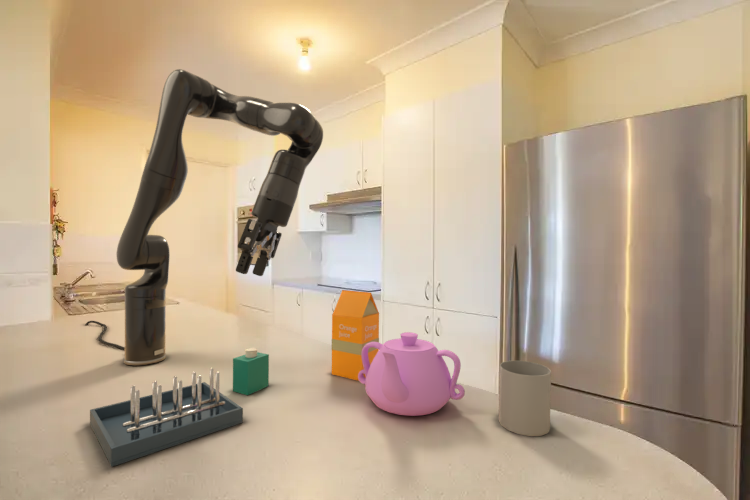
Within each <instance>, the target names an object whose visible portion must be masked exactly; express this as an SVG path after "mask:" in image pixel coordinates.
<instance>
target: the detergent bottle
mask: <svg viewBox="0 0 750 500" xmlns="http://www.w3.org/2000/svg"><path fill="white" fill-rule="evenodd" d="M244 351H245V354H243V355H240V356H236V357H233V358H232V392H233V393H237V394H241V395H245V396H250V395H251V394H253V393H257V392H259V391H261V390H263V389H265V388H267V387H269V386H270V385H269V384H270V383H269V381H270V380H269V379H270V376H269V375H270V373H269V372H270V371H269V370H270V357H269V356H270V354H269V353H263V352H259V351H258V348H256V347H249V348H246V349H245V350H244Z"/></svg>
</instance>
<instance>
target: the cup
mask: <svg viewBox="0 0 750 500" xmlns="http://www.w3.org/2000/svg"><path fill="white" fill-rule="evenodd" d="M498 373H499V376H498V379H499V380H498V422H499V424H500V426H501V427H502V428H504V429H506V430H507V431H508V432H512V433H515V434H517V435H521V436H526V437H527V436H528V437H539V436H540V437H541V436H544V435H547V434H549V432H550V430H551V398H552V397H551V396H552V395H551V393H552V370H551V369H550V368H549V367H548V366H546V365H544V364H542V363H541V364H540V363H537V362H532V361H527V360H506V361H502V362H501V363H500V364H499V371H498Z"/></svg>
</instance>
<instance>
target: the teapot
mask: <svg viewBox="0 0 750 500" xmlns="http://www.w3.org/2000/svg"><path fill="white" fill-rule="evenodd" d="M399 334H400V338H393V339H388V340H386V341H385V342H384V343H381V342H380V341H379V342H370V343H368V344H366V345H365V346H364V347H363V349H362V353H361V356H362V363H363V367H364V370H361V371H360V372H359V374H358V380H359V381H358V380H357V381H358V382H359V383H360V384H362V385H364V386H365V387H364V388H365V393H366V395H367V396H368V398H369V399H370V400H371V401H372V402H373V403H374V405H375V406H376V407H377V408H379V409H380V410H382V411H385V412H387V413H390V414H395V415H400V416H412V417H413V416H414V417H415V416H424V415H430V414H434V413H435V412H438V411H440V410H441V409H442V408H443V407H444V406H446V404H447V403H448V402H449V401H450V399H452V400H455V401H457V400H461V399H463V398H464V397H465V392H466V391H465V388H464V386H463V385H462V384H458V379H459V376H460V372H461V367H462V365H461V360H460V357H459V356H458V355H457V354H456V353H455V352H454V351H451V350H449V349H441V350H439V349H438V348H437V346H436V345H435V344H434V343H432V341H428V340H425V339H420V338H418V337H419V334H418V333H416V332H411V331H407V332H406V331H405V332H402V333H399ZM370 347H374V348H377V349H379V351H378V352H377V354H376V356H375V357H374V359H373V361H372V363H371V365H370V363H369V358H368V349H369V348H370ZM444 357H448V358H450V359H451V360H452V361H453V365H454V368H453V373H452V377H451V372H450V370H449V367H448V365H447V363H446V362H445V361H446V360H444ZM363 374H365V376H366V378H365V377H364V376H363ZM456 390H458V393H457V392H456Z"/></svg>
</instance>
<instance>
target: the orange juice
mask: <svg viewBox="0 0 750 500" xmlns="http://www.w3.org/2000/svg"><path fill="white" fill-rule="evenodd" d="M370 342H379V343H380V311H379V309H378V307H377V304H376V302H375V299H374V297H373V294H372V292H368V291H359V290H347V289H342V290H341V293H340V295H339V297H338V300H337V302H336V305H335V306H334V309H333V312H332V314H331V375H333V376H337V377H342V378H346V379H349V380H354V381H357V382H360V381H359V380H358V374H359V372H360V371H361V370H364V367H363V363H362V356H361V353H362V349H363V347H364V346H365V345H366V344H368V343H370ZM378 351H379V349H377V348H374V347H370V348H369V349H368V358H369V363H370V365H371V363H372V361H373V359H374V357H375V356H376V354H377V352H378ZM363 376H364V377H365V378H366V376H365V374H363Z"/></svg>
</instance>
